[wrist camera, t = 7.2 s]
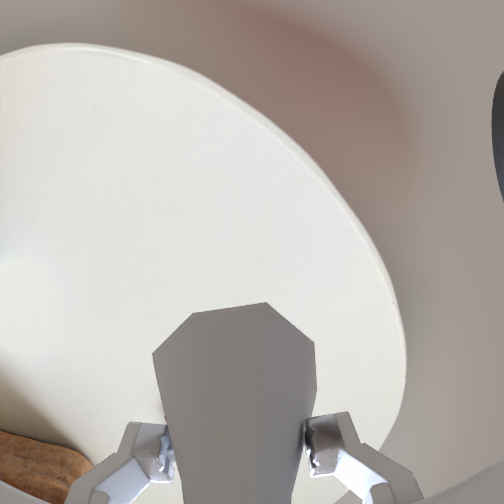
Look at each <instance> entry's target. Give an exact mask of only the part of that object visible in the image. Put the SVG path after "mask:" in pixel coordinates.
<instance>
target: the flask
mask: <svg viewBox="0 0 504 504" xmlns="http://www.w3.org/2000/svg"><path fill="white" fill-rule="evenodd" d="M152 355H153V362H154V368H155V373H156V378H157V383H158V387H159V391H160V396H161V400H162V404H163V408H164V412H165V416H166V421H167V426H168V430H169V435H170V439H171V443H172V447H173V451H174V455H175V459H176V463H177V467H178V471H179V474H180V478H181V482H182V492H183V501H184V504H291V497H292V491H293V487H294V484H295V480H296V476H297V472H298V468H299V464H300V459H301V455H302V451H303V446H304V432H305V431H306V427H305V420H306V418H310V417H311V415H312V411H313V407H314V403H315V397H316V392H317V383H316V364H315V348H314V342H313V341H312V340H310V339H309V338H308V337H307V336H306V335H304V334H303V333H302V332H301V331H300V330H298V329H297V328H296V327H295V326H294V325H292V324H291V323H290V322H289V321H288V320H286V319H285V318H284V317H283V316H282V315H280V314H279V313H278V312H277V311H276V310H275V309H273V308H272V307H271V306H270V305H269V304H268V303H266V302H264V303H258V304H252V305H245V306H239V307H232V308H226V309H219V310H212V311H205V312H197V313H192V314H191V315H190V316H189V317H188V318H187V319H186V320H185V321H184V322H183V323H182V324H181V325H180V326H179V327H178V328H177V329H176V330H175V331H174V332H173V333H172V334H171V335H170V336H169V337H168V338H167V339H166V340H165V341H164V342H163V343H162V344H161V345H160V346H159V347H158V348H157V349H156V350H155V351H154V352H153V353H152Z"/></svg>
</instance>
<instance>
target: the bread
mask: <svg viewBox="0 0 504 504" xmlns="http://www.w3.org/2000/svg"><path fill="white" fill-rule="evenodd" d="M92 468H94V466H93V465H92V464H91V463H90V462H89V461H88V460H87V459H86V458H85V457H84V456H83V455H82V454H80V453H79V452H77V451H75V450H72V449H69V448H66V447H63V446H58V445H51V444H47V443H43V442H39V441H35V440H33V439H30V438H26V437H21V436H16V435H12V434H9V433H6V432H4V431H1V430H0V481H2V482H4V483H6V484H8V485H10V486H12V487H14V488H16V489H18V490H20V491H22V492H25V493H27V494H29V495H31V496H33V497H36V498H38V499H40V500H43V501H45V502H48V503H50V504H64V503H65V500H66V498H67V495H68V492H69V490H70V487H71V485H72V483H73V482H74V481H75V480H77V479H78V478H80V477H81V476H83V475H84V474H85V473H87V472H88V471H90V470H91V469H92Z"/></svg>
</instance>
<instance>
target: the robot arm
mask: <svg viewBox="0 0 504 504" xmlns="http://www.w3.org/2000/svg"><path fill="white" fill-rule="evenodd" d="M305 427H306V431H305V432H304V445H305V451H306V455H308V456H309V461H308V465H309V470H310V474H311V478H312V477H319V476H326V475H332V474H334V475H335V476H336V477H337V478H338V479H339V480H340V481H342V482H343V483H344V484H345V485H346V486H347V487H348V488H350V489H351V490H352V491H353V492H354V493H355V494H357V495H358V496H359V497H360V498H362V499H363V502H362V504H504V457H503V458H501V459H499V460H498V461H496V462H495V463H493V464H492V465H490V466H488V467H486V468H485V469H483V470H481V471H480V472H478V473H476V474H474V475H473V476H471V477H469V478H467V479H465V480H463V481H461V482H459V483H457V484H455V485H453V486H451V487H449V488H447V489H445V490H443V491H441V492H439V493H436V494H434V495H432V496H429V497H427V498H424V497H423V494H422V492H421V490H420V488H419V486H418V484H417V481H416V479H415V477H414V475H413V473H412V472H411V471H410V470H408V469H406V468H404V467H403V466H401V465H399V464H398V463H396V462H394V461H392V460H391V459H389V458H388V457H386V456H384V455H383V454H381V453H380V452H378V451H376V450H375V449H373V448H372V447H370V446H369V445H367V444H365V443H363V444H361V443H360V440H359V438H358V435H357V432H356V430H355V427H354V425H353V422H352V420H351V417H350V415H349V413H348V412H347V411H346V412H341V413H335V414H328V415H322V416H317V417H310V418H306V420H305ZM175 461H176V459H175V455H174V451H173V447H172V443H171V439H170V435H169V430H168V426H167V425H161V424H150V423H140V422H129V423H128V424H127V426H126V429H125V432H124V435H123V438H122V440H121V443H120V446H119V449H118V452H117V453H113V454H112V455H110V456H109V457H108V458H106V459H105V460H103V461H102V462H101V463H99V464H98V465H97V466H95V467H94V468H92V469H91V470H90V471H88V472H87V473H85V474H84V475H83V476H81V477H80V478H78V479H77V480H75V481H74V482H73V483H72V485H71V487H70V490H69V492H68V495H67V498H66V500H65V503H64V504H131V503H132V502H133V501H134V500H135V499H136V498H137V497H138V495H139V494H140V493H141V492H142V491H143V490H144V489H145V488H146V487H147V486H148V485H149V484H150V483H151V481H154V482H167V483H173V477H174V471H175V469H174V467H173V465H172V463H174V462H175ZM0 504H50V503H48V502H45V501H43V500H40V499H38V498H36V497H33V496H31V495H29V494H27V493H25V492H22V491H20V490H18V489H16V488H14V487H12V486H10V485H8V484H6V483H4V482H2V481H0Z"/></svg>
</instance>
